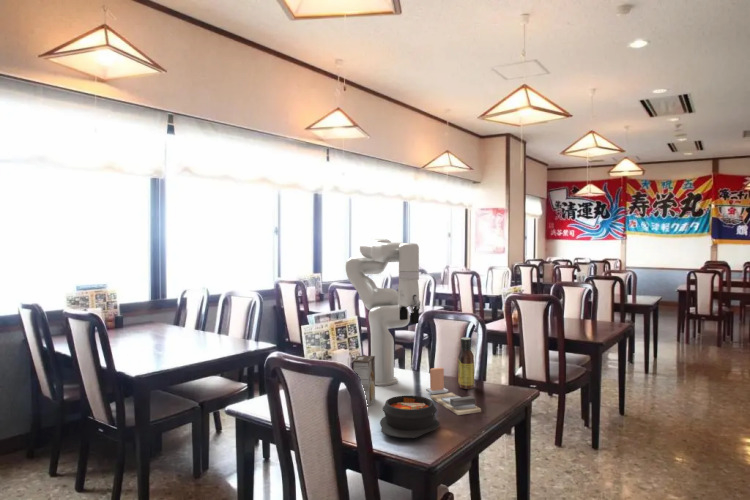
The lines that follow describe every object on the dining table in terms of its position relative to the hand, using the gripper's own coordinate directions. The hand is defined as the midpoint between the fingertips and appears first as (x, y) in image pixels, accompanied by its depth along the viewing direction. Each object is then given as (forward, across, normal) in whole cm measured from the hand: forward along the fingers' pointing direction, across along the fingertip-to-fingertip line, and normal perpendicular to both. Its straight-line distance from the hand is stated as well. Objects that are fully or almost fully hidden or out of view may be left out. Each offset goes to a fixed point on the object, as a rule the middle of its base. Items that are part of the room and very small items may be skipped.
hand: (409, 321), depth 192 cm
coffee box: (+28, 0, -18) cm, 34 cm away
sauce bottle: (+28, -2, +26) cm, 39 cm away
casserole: (+29, +30, -14) cm, 44 cm away
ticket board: (+28, +15, +11) cm, 34 cm away
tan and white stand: (+27, +1, +11) cm, 29 cm away
